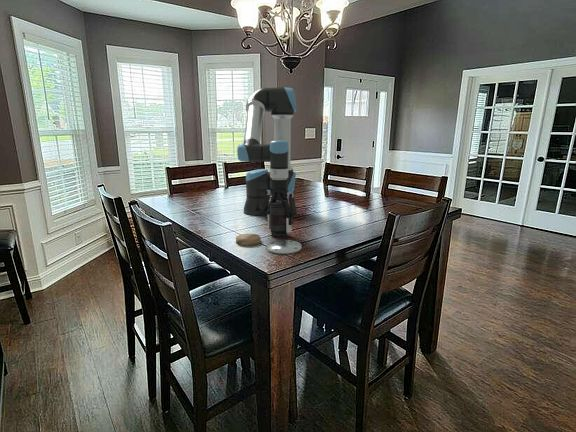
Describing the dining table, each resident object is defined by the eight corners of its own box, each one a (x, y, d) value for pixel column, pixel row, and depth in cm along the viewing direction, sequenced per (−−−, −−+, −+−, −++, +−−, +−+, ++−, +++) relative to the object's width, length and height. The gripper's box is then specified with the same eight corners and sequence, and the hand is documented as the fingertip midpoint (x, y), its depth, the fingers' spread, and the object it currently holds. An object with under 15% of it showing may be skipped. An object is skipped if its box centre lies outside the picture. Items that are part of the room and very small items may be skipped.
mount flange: (258, 249, 131) (258, 247, 130) (278, 239, 142) (278, 237, 142) (289, 257, 124) (289, 254, 123) (308, 246, 135) (308, 243, 135)
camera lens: (288, 232, 152) (288, 199, 148) (288, 238, 144) (289, 204, 140) (270, 232, 152) (269, 200, 148) (269, 238, 144) (269, 204, 140)
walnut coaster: (230, 244, 138) (230, 238, 137) (246, 237, 146) (246, 232, 146) (250, 248, 133) (250, 242, 132) (265, 241, 141) (265, 236, 140)
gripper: (252, 177, 144) (254, 228, 150) (297, 182, 133) (296, 236, 139) (263, 175, 150) (264, 224, 156) (306, 179, 139) (305, 232, 145)
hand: (279, 230), depth 147 cm, fingers open, 9 cm apart
